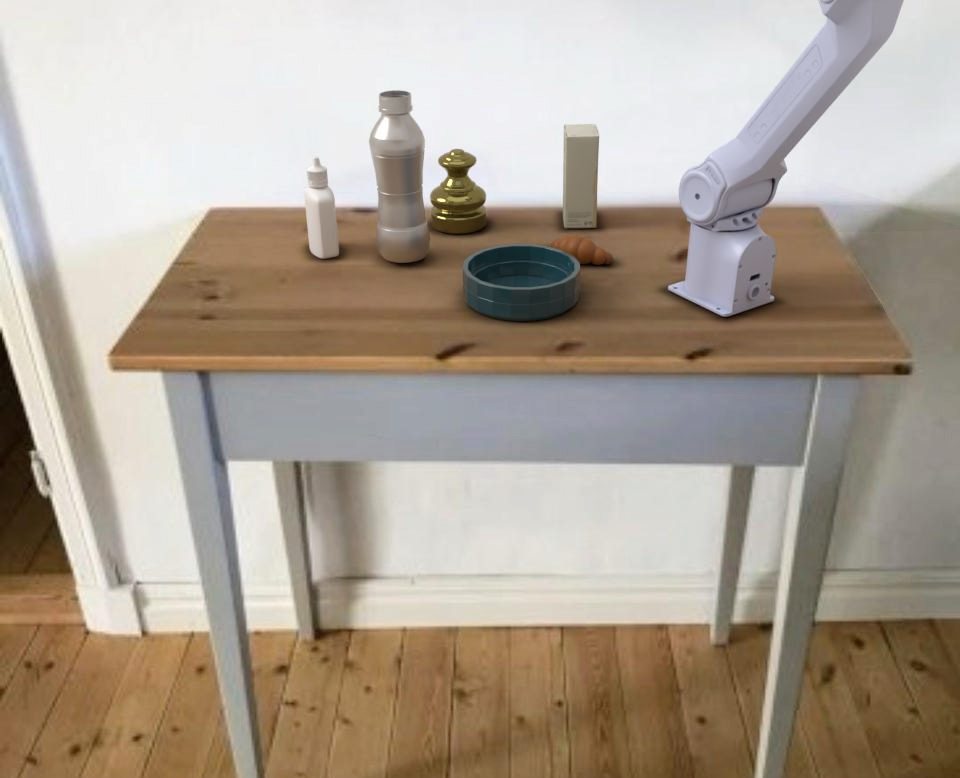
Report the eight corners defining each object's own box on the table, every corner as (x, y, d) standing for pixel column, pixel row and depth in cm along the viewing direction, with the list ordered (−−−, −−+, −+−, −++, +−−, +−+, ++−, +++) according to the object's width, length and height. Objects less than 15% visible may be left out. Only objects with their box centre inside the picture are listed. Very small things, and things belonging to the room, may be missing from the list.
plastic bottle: (424, 270, 130) (416, 102, 119) (370, 267, 131) (358, 100, 120) (436, 251, 135) (430, 88, 124) (385, 247, 136) (374, 86, 125)
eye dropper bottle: (346, 243, 138) (338, 150, 131) (336, 260, 133) (328, 165, 126) (312, 242, 138) (303, 150, 131) (302, 259, 133) (292, 164, 127)
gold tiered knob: (491, 232, 140) (491, 157, 135) (435, 237, 139) (433, 161, 134) (480, 213, 146) (479, 140, 141) (426, 218, 145) (424, 144, 140)
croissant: (600, 273, 129) (602, 247, 127) (540, 258, 133) (540, 234, 131) (614, 263, 131) (616, 238, 129) (554, 249, 135) (555, 225, 133)
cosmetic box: (596, 229, 141) (601, 136, 134) (562, 229, 141) (565, 136, 134) (593, 212, 146) (597, 122, 140) (560, 212, 146) (563, 123, 140)
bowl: (602, 304, 121) (604, 271, 119) (506, 333, 115) (507, 299, 113) (533, 267, 130) (533, 236, 128) (441, 292, 124) (440, 260, 122)
